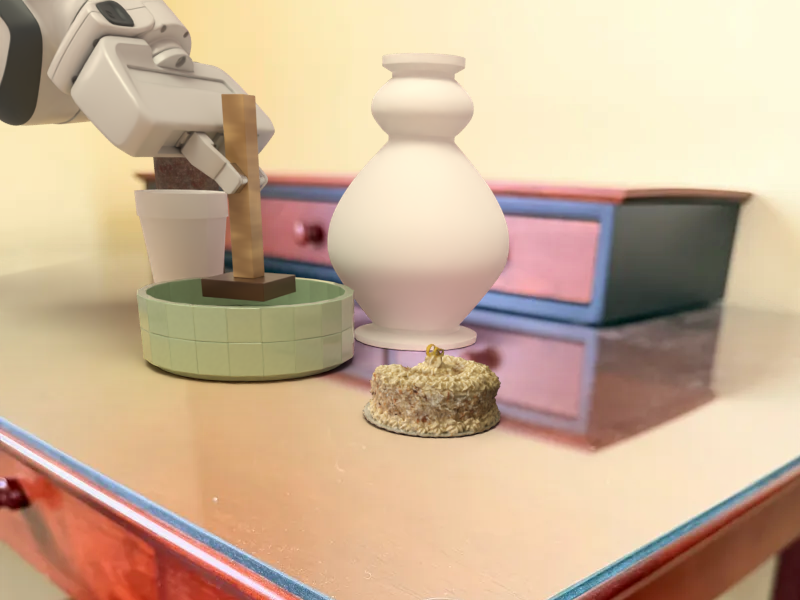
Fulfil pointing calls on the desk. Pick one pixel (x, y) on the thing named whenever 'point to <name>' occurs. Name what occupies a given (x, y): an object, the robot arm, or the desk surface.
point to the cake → (434, 397)
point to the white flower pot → (183, 232)
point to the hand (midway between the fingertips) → (249, 187)
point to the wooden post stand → (245, 214)
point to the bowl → (246, 331)
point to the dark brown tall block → (181, 176)
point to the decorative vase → (419, 215)
